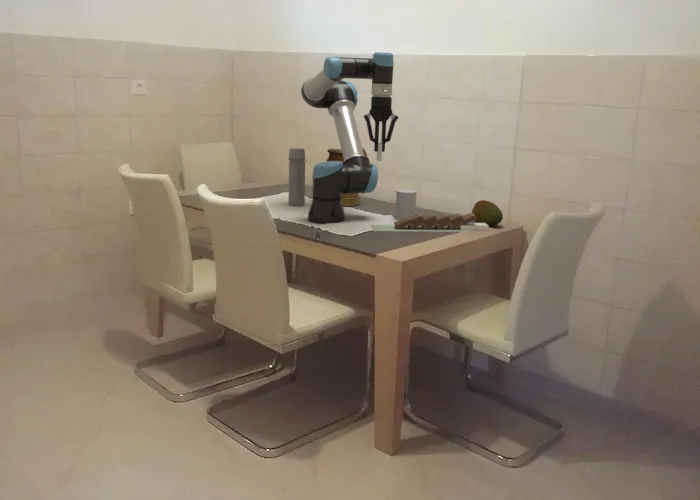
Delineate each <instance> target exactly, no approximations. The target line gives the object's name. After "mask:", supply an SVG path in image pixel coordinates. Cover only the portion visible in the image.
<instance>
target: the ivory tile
mask: <svg viewBox="0 0 700 500" xmlns="http://www.w3.org/2000/svg"><path fill="white" fill-rule="evenodd" d="M489 227H490V226H489V225H487V224H486V223H477V222H469V223H466V224H463V225H461V226H458V228H459V229H460V230H470V231H489Z"/></svg>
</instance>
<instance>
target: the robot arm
mask: <svg viewBox="0 0 700 500" xmlns="http://www.w3.org/2000/svg"><path fill="white" fill-rule="evenodd" d="M394 65H395V63H394V54H393V53H392V52H386V51H385V52H384V51H383V52H381V51H380V52H379V51H377V52H374V53H373V55H372V58H367V57H366V58H365V57H344V56H343V57H342V56H328V57H326V58H325V59H324V63H323V68H322V69H321V71H319V72H318V73H317V74H316V75H315V76H314V77H311V78H308V79H307V80H305V82H304V83H303V84H302V86H301V91H300V92H301V93H300V94H301V97H302V99H303V101H304V102H305V103H306V104H307V105H308V106H310V107H312V108H316V109H327V111H328V114H329V115H330V116H331V117H333V122H334V125H335V129H336V133H337V138H338V142H339V145H340V146H339V147H340V149H341V150H342V154H343V158H344V161H343V163H342V162H340V161H328V162H327V161H323V162H318V163H316V164H315V165H314V166H313V169H312V170H313V171H312V200H311V205H310V208H309V210H308V213H307V220H308V221H309V222H311V223H317V224H336V223H337V224H338V223H342V222H345V221H346V213H345V210H344V206H342V202H341V196H342V194H353V193H358V194H368V193H373V192H374V190H375V189H376V187H377V185H378V181H379V170H378V167H377V165H376V164H374V163H371V162H370V158H369V157H368V155H367V156H364V153H363V149H362V148H363V145H362V143H361V138H360V134H359V130H358V127H357V123H356V119H355V115H354V110H355V109H356V106H357V104H358V99H359V98H358V92H357V91H358V90H357V88H356V86H355V84H354V83H353V82H351V81H345V80H344V79H359V80H360V79H361V80H371V95H372V96H371V97H370V100H371V101H370V110H369V112H368V113H366V114H364V115H363V118H364V120H365V122H366V128H367V132H368V138H369V141H370V142H372V143H374V147H373V148H374V150H373V151H374V153H376V161H377V162H382V158H383V153H384V152H385V150H386V143H388V142H390V141H391V139H392V135H393V132H394V128H395V125H396V123H397V121H398V119H399V116H398V115H396V114H395V113H394V112H393V110H392V106H393V105H392V104H393V103H392V101H393V100H392V99H393V98H392V97H391V96H392V95H393V78H394ZM371 118H372V119H373V121H374V134H373V128H372V124H371ZM389 119H390V120H391V121H390V124H389V127H388V131H386V130H387V122H388V120H389ZM380 122H381V134H380ZM386 132H387V133H386ZM380 135H381V137H380ZM379 137H380V139H381V140H380V139H379ZM379 140H380V141H381V142H380V141H379Z"/></svg>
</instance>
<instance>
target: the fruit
mask: <svg viewBox="0 0 700 500" xmlns="http://www.w3.org/2000/svg"><path fill="white" fill-rule="evenodd" d="M471 210H472V211H471V213H473V214H474V215H475V216H476V220H474V221H473V222H475V223H486V224H487V225H489V227H492V226H496V225H498V224H500V223H501V222H502V221H503V218H504V215H503V212H502V210H501V209H500V208H499V207H498V205H496V204H495V203H493V202H491V201H489V200H483V199H482V200H479V201H477V202H475V203H474V205H473V208H472V209H471Z"/></svg>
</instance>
